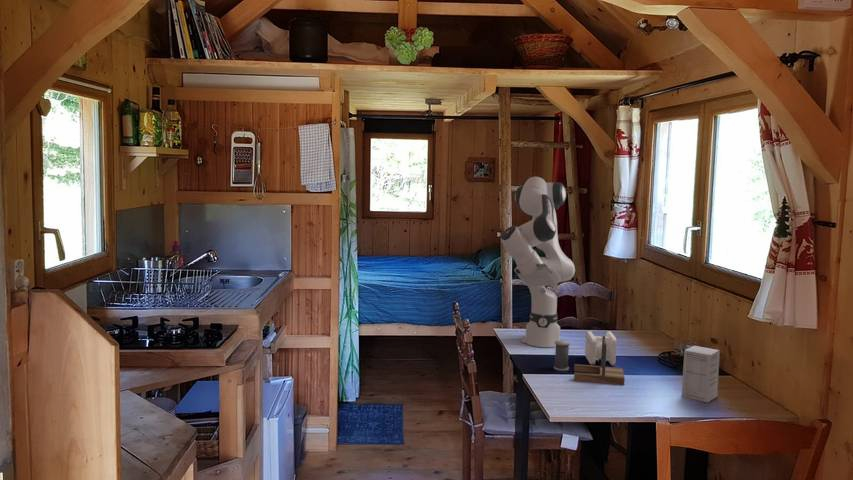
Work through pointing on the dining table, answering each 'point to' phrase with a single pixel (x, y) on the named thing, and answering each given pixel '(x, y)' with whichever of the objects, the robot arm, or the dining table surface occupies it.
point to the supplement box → (700, 373)
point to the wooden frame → (599, 371)
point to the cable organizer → (600, 347)
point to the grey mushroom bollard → (561, 355)
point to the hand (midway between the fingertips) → (550, 292)
